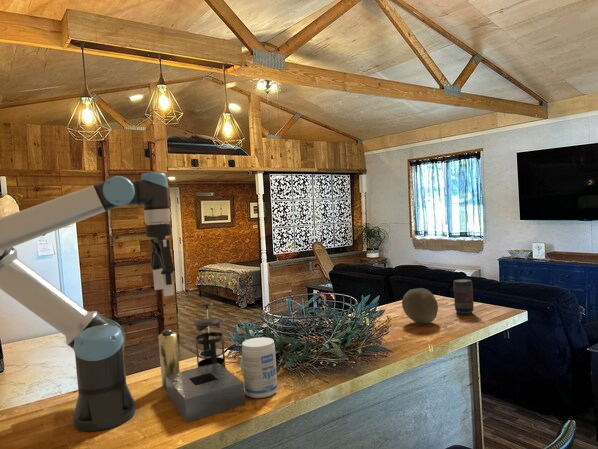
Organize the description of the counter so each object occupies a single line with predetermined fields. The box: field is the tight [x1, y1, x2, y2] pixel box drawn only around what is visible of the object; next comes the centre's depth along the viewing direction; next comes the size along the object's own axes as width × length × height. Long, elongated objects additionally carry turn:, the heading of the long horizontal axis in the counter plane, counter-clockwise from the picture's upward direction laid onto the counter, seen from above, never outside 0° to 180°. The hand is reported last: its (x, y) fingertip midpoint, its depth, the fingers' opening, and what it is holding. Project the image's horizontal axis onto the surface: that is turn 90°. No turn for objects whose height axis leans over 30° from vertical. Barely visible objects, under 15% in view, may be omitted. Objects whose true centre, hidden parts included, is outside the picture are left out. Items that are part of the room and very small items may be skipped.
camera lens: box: [452, 278, 475, 317], centre depth 193 cm, size 8×8×15 cm
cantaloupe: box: [401, 287, 439, 325], centre depth 182 cm, size 14×14×15 cm
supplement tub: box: [241, 336, 278, 399], centre depth 124 cm, size 10×10×15 cm
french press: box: [194, 302, 227, 369], centre depth 143 cm, size 12×9×23 cm
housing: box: [166, 363, 246, 423], centre depth 122 cm, size 16×20×6 cm
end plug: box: [157, 328, 181, 390], centre depth 134 cm, size 5×5×17 cm
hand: (163, 292), depth 133 cm, fingers open, 13 cm apart
